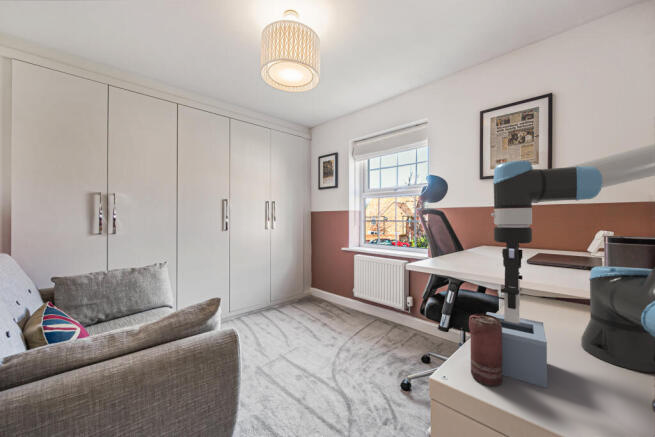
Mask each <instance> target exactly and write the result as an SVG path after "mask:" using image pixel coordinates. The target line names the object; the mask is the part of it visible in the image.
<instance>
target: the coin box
mask: <svg viewBox="0 0 655 437" xmlns="http://www.w3.org/2000/svg"><path fill="white" fill-rule="evenodd" d="M485 314H487V315H491V316H494V317H496V318H498V319H499V320H500V322H501V324H502V376H505V377H508V378H511V379H515V380H518V381H522V382H525V383H528V384H532V385H535V386H538V387H541V388H545V389H548V354H547V353H548V346H547V344H548V342H547V337H546V336H547V335H546V331H545V326H544V322H542V321H538V320H537V321H536V320H533V319H527V318H523V317H522V318H521V317H519V324H518V323H513V322H508V321H505V319H504V314H500V313H494V312H489V311H487V312H486V313H485Z"/></svg>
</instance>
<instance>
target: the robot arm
mask: <svg viewBox="0 0 655 437" xmlns="http://www.w3.org/2000/svg"><path fill="white" fill-rule="evenodd" d="M532 165H533V164H532V162H531V161H529V160H513V161H507V162H502V163H500V164H498V165H496V166H495V167H494V170H493V183H492V185H493V205H494V206H493V211H494V212H491V214H490V215H491V217H493V224H494V225H495V226H494V228H493V240H494V241H495V242H496V243H501V244H502V243H505V244H506V245H505V246H506V247H505V248H502V250H501V251H502V252H501V253H502V258H503V261H502V266H503V267H504V288H500V293H503V296H504V298H503V299H504V301H503V302H504V314H503V315H504V319H505V321H508V322H513V323H518V324H519V318H520V305H521V304H520V302H521V301H520V300H521V299H520V298H521V297H520V295H521V294H520V293H521V292H520V290H521V289H520V286H521V285H520V281H523V275H520V274H521V273H520V269H521V268H522V259H523V249H520V248H519V247H520V244H530V243H532V241H533V228H532V227H530V226H531V225H532V224H533V205H532V204H538V203H544V202H545V203H546V202H558V201H559V202H560V201H581V200H592V199H594V198H596V197H597V196H598V195H599V194H600V192H601V191H602V189H603V188H607V187H611V186H615V185H620V184H625V183H628V182H632V181H638V180H640V179H646V178H650V177H655V143H653V144H648V145H646V146H641V147H638V148H634V149H630V150H627V151H623V152H619V153H615V154H611V155H608V156H604V157H601V158H597V159H593V160H590V161H586V162H582V163H578V164H574V165H571V166H568V167H558V168H542V169H541V168H540V169H539V168H538V169H537V168H533V166H532ZM588 280H589V296H590V298H589V301H590V302H589V304H590V306H589V308H590V310H589V311H590V318H589V321H588V323H587V325H586V327H585V329H584V331H583V333H582V335H581V338H580V339H581V344H580V345H581V348H582V349H583V350H584V351H585V352H587V353H588V354H590V355H592V356H594V357H595V358H598V359H600V360H602V361H604V362H607V363H610V364H611V365H615V366H619V367H621V368H622V367H623V368H624V369H630V370H633V371H638V372H644V373H649V374H655V373H654V372H655V266H654V268H653V269H652V268H642V267H641V268H640V267H625V266H622V267H621V266H600V265H599V266H594V267H592V268H591V270H590V276H589V279H588Z"/></svg>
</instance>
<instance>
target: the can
mask: <svg viewBox="0 0 655 437" xmlns="http://www.w3.org/2000/svg"><path fill="white" fill-rule="evenodd" d="M468 329H469V333H470V374H471V376H472V378H473V379H474V380H475V381H477V382H478V383H479V384H482V385H484V386H487V387H499V386H500V385H501V384H502V383H503V375H502V324H501V322H500V320H499V319H498V318H496V317H494V316H491V315H487V314H486V313H474V314H472V315H470V316H469V320H468Z"/></svg>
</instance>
